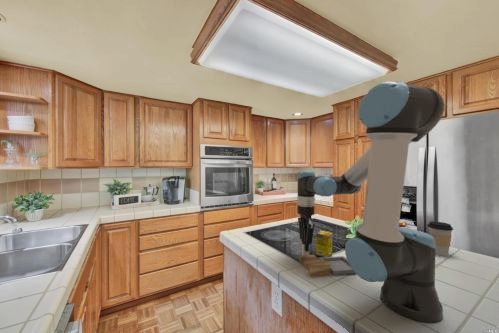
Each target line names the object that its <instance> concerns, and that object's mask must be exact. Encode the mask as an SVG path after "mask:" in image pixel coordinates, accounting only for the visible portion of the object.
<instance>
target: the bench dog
mask: <svg viewBox="0 0 499 333" xmlns="http://www.w3.org/2000/svg"><path fill="white" fill-rule="evenodd" d="M330 265H331V264H330V263H329V262H327V261H315V262H308V270H307V274H308V275H309V277H310V278H318V277H331V273H330Z"/></svg>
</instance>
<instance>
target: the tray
mask: <svg viewBox="0 0 499 333" xmlns="http://www.w3.org/2000/svg"><path fill="white" fill-rule="evenodd" d="M318 259H319V260H320V261H327V262H329V263H330V264H331V265H330V275H331V276H333V277H340V276H341V277H342V276H352V275H353V276H354V275H357V274H356V273H355V272H354V271H353V269H352V268H351V266H350V264H349V263H348V260H347V257H346V256H344V255H340V256H339V255H338V256H331V257H318Z"/></svg>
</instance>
